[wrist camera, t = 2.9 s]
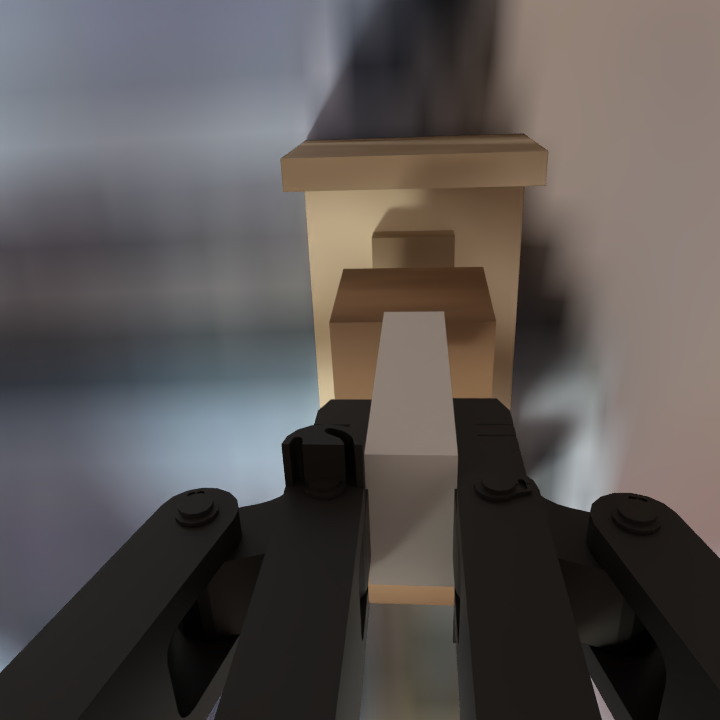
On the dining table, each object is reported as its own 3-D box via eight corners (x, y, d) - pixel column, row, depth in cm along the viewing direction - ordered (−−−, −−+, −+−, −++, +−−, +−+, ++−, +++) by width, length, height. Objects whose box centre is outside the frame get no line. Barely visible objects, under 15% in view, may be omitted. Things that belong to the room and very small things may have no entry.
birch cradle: (500, 505, 31) (514, 583, 26) (330, 502, 31) (315, 577, 27) (523, 133, 24) (548, 151, 19) (305, 140, 25) (280, 158, 20)
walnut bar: (470, 524, 26) (478, 606, 23) (358, 522, 27) (349, 602, 23) (483, 266, 21) (495, 321, 18) (343, 268, 21) (328, 322, 18)
